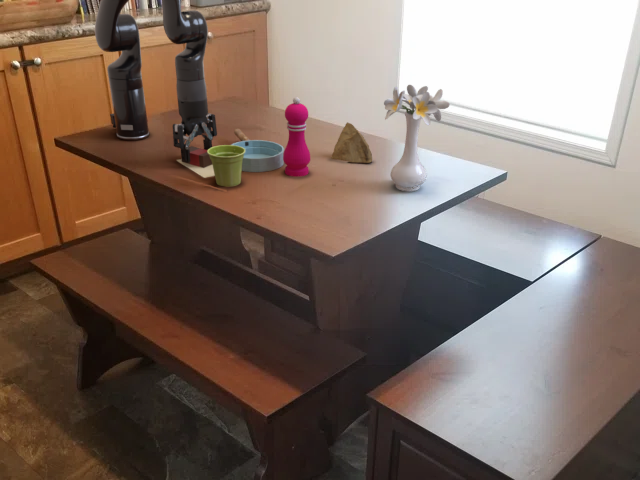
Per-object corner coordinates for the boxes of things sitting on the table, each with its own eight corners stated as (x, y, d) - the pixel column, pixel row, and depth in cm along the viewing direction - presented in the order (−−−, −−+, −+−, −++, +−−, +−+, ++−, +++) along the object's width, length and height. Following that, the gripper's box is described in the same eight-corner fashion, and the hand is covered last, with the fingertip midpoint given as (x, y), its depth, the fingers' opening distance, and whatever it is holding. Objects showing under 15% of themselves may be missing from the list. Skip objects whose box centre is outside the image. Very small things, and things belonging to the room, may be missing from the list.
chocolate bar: (181, 161, 187) (180, 150, 185) (192, 157, 190) (191, 145, 188) (203, 168, 183) (202, 156, 181) (214, 163, 186) (214, 151, 185)
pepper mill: (314, 171, 185) (315, 95, 174) (304, 180, 179) (304, 102, 168) (289, 167, 187) (288, 92, 176) (279, 176, 181) (277, 98, 170)
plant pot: (203, 181, 177) (200, 148, 172) (235, 174, 182) (234, 142, 177) (220, 193, 171) (218, 159, 166) (253, 186, 175) (252, 152, 170)
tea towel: (176, 162, 188) (176, 159, 188) (205, 156, 193) (205, 154, 192) (204, 179, 178) (204, 177, 177) (234, 173, 182) (234, 170, 182)
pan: (217, 161, 190) (216, 146, 187) (265, 151, 198) (264, 136, 195) (246, 178, 180) (245, 162, 177) (295, 166, 188) (295, 151, 185)
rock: (382, 152, 193) (358, 139, 198) (373, 132, 185) (348, 119, 190) (357, 180, 192) (333, 166, 197) (347, 162, 184) (322, 147, 189)
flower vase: (445, 181, 182) (457, 83, 168) (412, 203, 169) (422, 99, 155) (403, 171, 188) (411, 75, 174) (367, 191, 175) (373, 89, 161)
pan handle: (251, 146, 193) (251, 139, 192) (244, 147, 193) (244, 140, 192) (240, 134, 202) (239, 127, 201) (233, 134, 202) (233, 128, 201)
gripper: (200, 88, 184) (204, 148, 193) (161, 99, 174) (168, 162, 183) (221, 93, 180) (225, 153, 189) (183, 104, 170) (189, 168, 179)
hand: (197, 157), depth 186 cm, fingers open, 8 cm apart
